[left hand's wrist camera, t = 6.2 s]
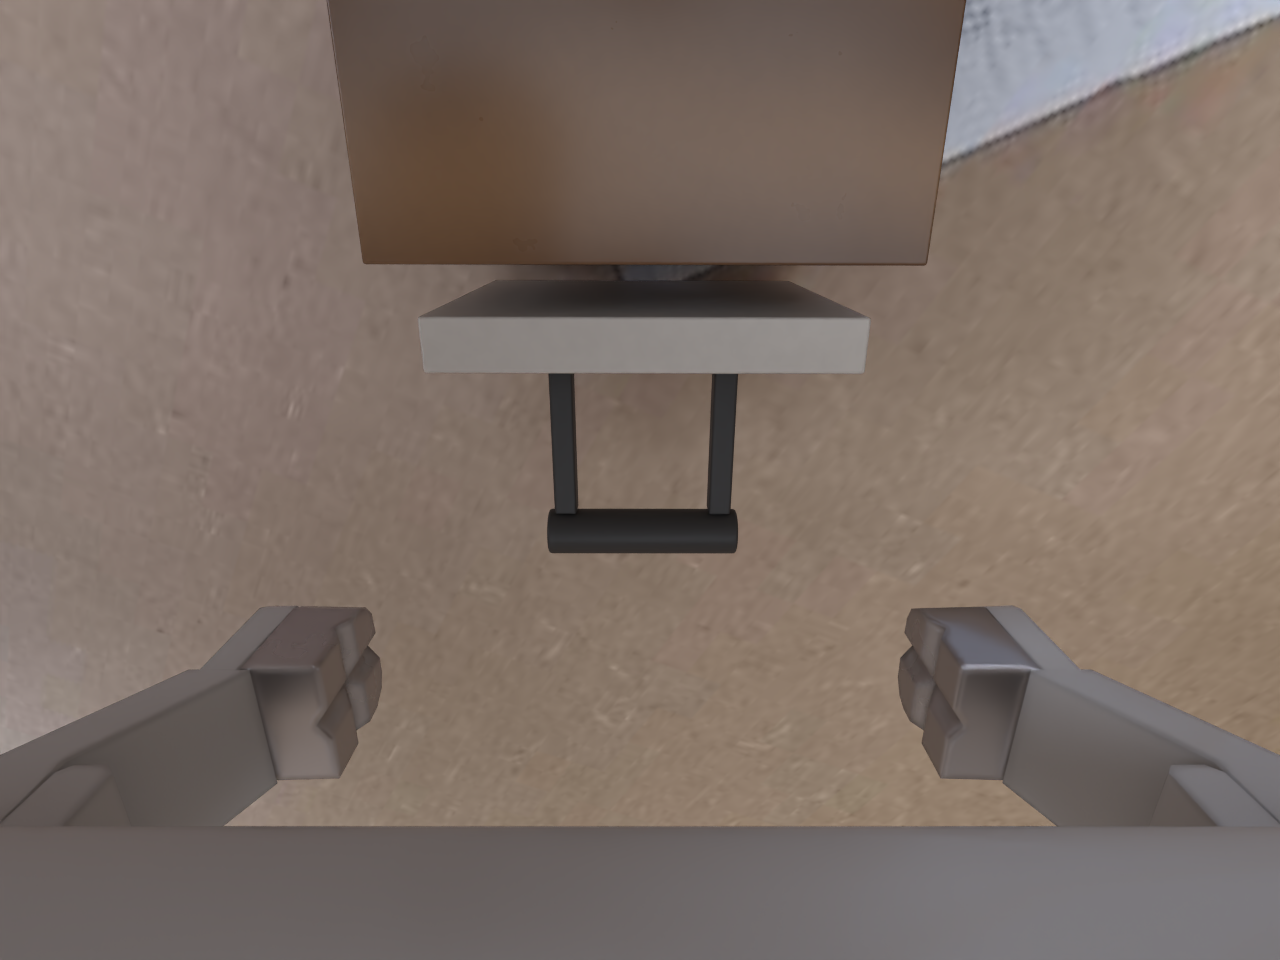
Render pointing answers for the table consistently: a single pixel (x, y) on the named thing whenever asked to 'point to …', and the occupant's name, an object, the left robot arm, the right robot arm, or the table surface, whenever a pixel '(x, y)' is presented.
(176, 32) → the table surface
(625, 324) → the drawer
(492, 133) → the cabinet
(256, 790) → the left robot arm
